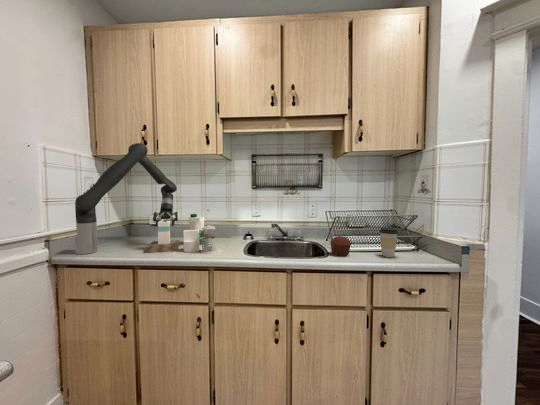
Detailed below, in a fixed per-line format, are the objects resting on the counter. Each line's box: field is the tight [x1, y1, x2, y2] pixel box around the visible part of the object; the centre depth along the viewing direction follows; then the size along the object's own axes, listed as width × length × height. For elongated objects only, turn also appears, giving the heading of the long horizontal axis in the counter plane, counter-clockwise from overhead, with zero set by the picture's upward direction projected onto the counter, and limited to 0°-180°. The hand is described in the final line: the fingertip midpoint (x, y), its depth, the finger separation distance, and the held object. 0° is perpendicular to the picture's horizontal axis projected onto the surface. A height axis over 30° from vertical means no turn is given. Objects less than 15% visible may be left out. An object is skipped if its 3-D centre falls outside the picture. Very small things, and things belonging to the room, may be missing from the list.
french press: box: [198, 208, 218, 255], centre depth 140 cm, size 10×12×25 cm
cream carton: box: [157, 219, 171, 244], centre depth 146 cm, size 6×6×14 cm
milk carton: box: [188, 213, 205, 246], centre depth 160 cm, size 9×9×20 cm
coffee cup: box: [378, 227, 399, 258], centre depth 131 cm, size 9×9×15 cm
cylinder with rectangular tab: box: [182, 229, 200, 253], centre depth 143 cm, size 9×9×12 cm
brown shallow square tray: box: [146, 239, 180, 254], centre depth 146 cm, size 16×16×4 cm
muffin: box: [329, 235, 353, 257], centre depth 134 cm, size 12×11×10 cm
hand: (164, 225), depth 149 cm, fingers open, 8 cm apart
